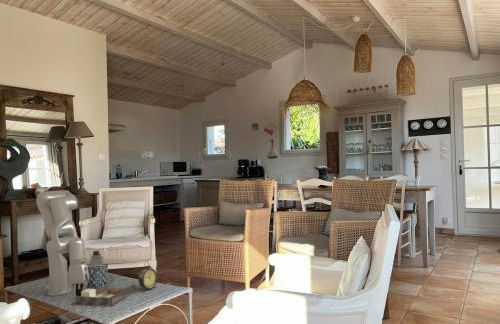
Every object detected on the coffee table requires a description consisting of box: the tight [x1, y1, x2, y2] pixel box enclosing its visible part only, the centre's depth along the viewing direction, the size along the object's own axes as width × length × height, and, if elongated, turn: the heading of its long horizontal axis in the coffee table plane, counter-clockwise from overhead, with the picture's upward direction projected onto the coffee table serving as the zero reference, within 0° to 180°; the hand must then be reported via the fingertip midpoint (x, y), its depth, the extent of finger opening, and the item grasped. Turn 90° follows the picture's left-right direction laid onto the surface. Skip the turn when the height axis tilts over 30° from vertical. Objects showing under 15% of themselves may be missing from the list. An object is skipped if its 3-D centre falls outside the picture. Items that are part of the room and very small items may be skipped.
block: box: [81, 288, 96, 297], centre depth 206 cm, size 5×5×4 cm
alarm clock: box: [138, 261, 158, 293], centre depth 221 cm, size 11×5×16 cm, turn 148°
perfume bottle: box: [89, 250, 104, 267], centre depth 251 cm, size 7×7×18 cm
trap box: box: [75, 283, 137, 307], centre depth 210 cm, size 22×22×4 cm
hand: (79, 295), depth 208 cm, fingers closed
